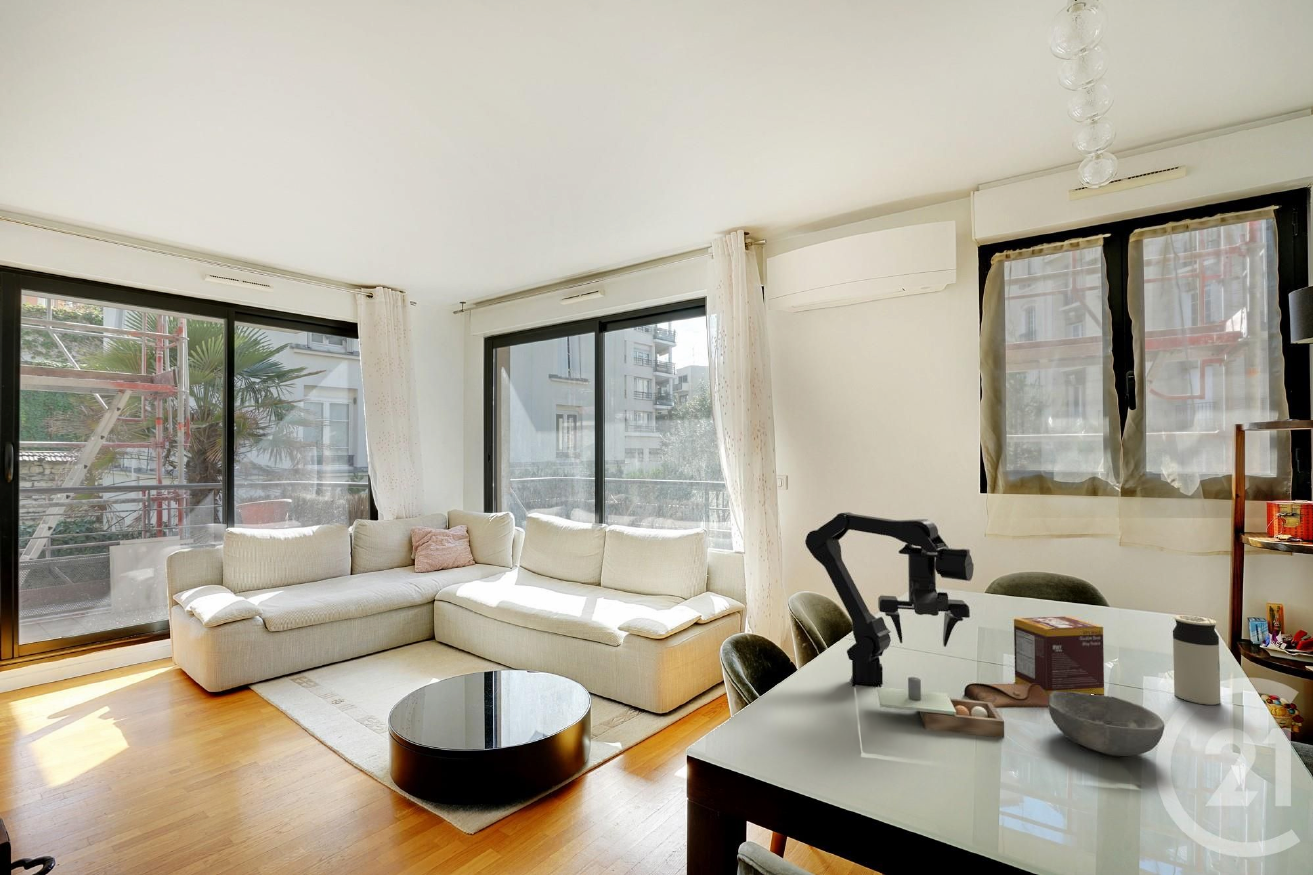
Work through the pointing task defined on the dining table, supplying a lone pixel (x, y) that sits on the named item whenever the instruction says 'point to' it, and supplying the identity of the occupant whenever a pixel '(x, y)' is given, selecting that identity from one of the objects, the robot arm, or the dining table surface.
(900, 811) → the dining table surface
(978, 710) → the ball
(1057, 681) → the supplement box
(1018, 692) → the sunglasses case
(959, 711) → the ball
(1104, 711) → the bowl
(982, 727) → the box
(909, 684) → the lid
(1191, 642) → the travel mug
